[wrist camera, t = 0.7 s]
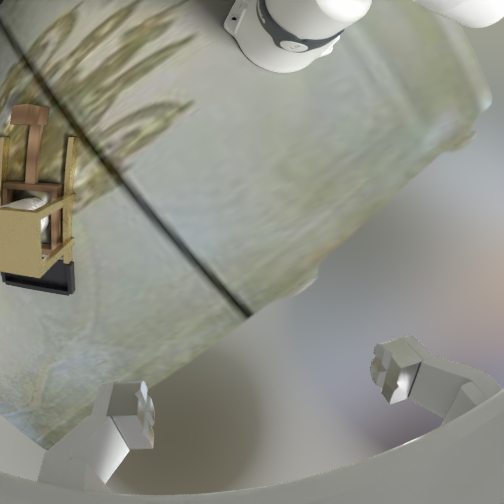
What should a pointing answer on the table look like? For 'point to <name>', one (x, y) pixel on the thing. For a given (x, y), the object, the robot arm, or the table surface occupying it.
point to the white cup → (29, 208)
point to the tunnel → (37, 236)
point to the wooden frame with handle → (35, 167)
